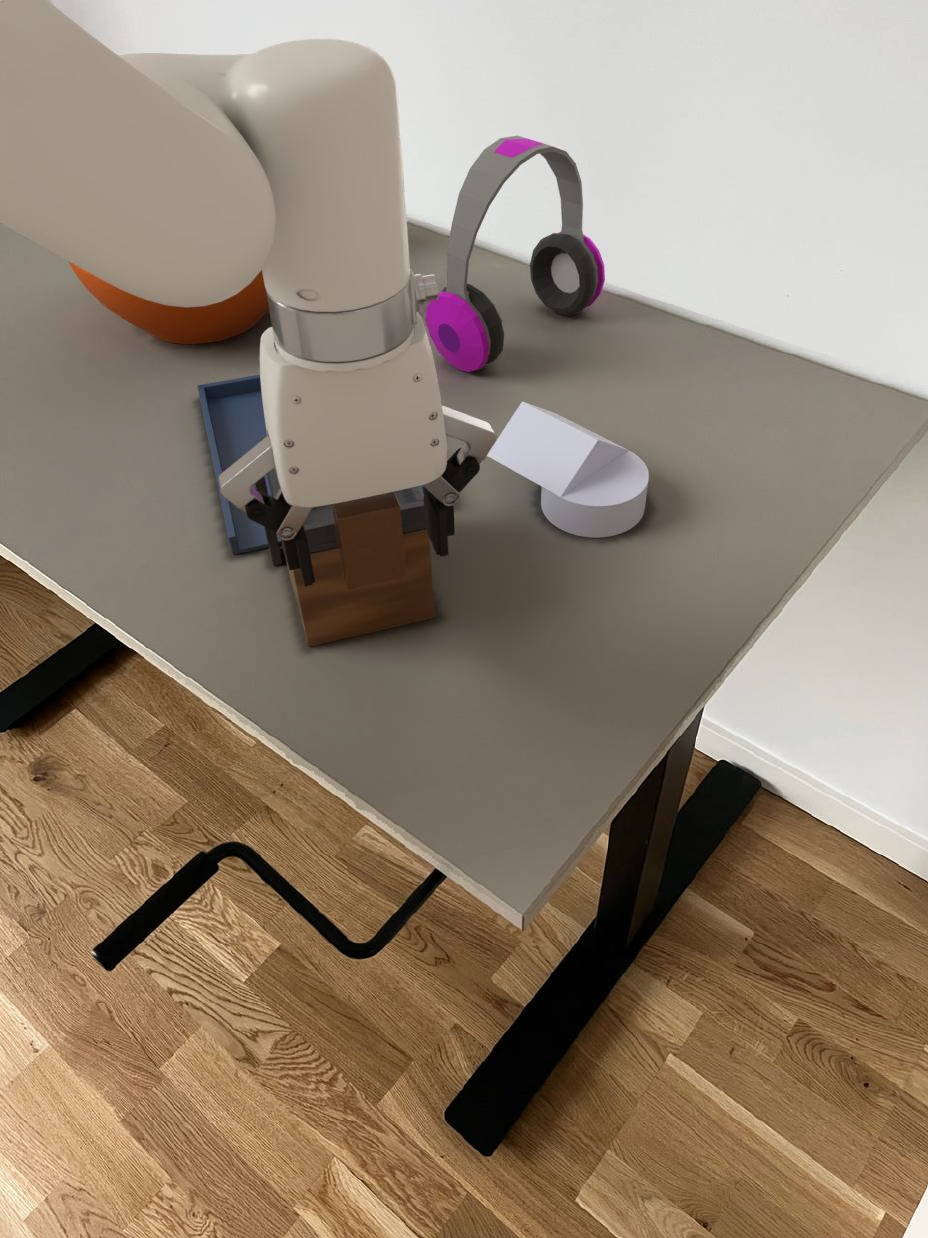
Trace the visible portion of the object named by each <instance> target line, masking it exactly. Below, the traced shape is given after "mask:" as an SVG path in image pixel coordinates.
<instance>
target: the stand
mask: <svg viewBox="0 0 928 1238" xmlns="http://www.w3.org/2000/svg"><path fill="white" fill-rule="evenodd" d="M267 476H268V474H267ZM268 481H269V486H270V491H271V495H272V497H273V498H274V494H273V491H272V487H271V483H270V480H269V476H268ZM255 488H256V489H257V490H260V491H262V492H264V493H265V494H267V495H268V491H267V487H266V482H265V477H263V478H261V479H260V480H259V481H258V482H256V483H255ZM264 529H265V533H266V538H267V542H268V552H269V555H270V559H271V563H272V566H275V567H276V566H279V565H283V559H282V554H281V549H280V545H279V544H278V539H277V534H276V532H275V531H273V530H271V529H269V528H267V527H265V526H264ZM403 541H404V552H405V563H406V574H407V576H406V577H404V578H399V579H395V580H390V581H386V582H381V583H377V584H372V585H368V586H363V587H359V588H354V589H350V590H348V588H347V585H346V582H345V579H344V576H343V573H342V569H341V562H340V556H339V549H338V547H335V548H331V549H326V550H321V551H317V552H312V553H310V556H311V562H312V567H313V573H314V578H315V582H314V583H312V584H313V585H311V586H306V587H305V586H304V582H303V579H302V575H301V572H300V568H299V569H294V570H289V567H288V563H287V559H286V555H285V550H284V545H283V540H282V539H281V544H282V545H281V548H282V552H283V556H284V559H285V563H286V567H287V571H288V575H289V578H290V583H291V586H292V590H293V593H294V594H293V595H294V597H295V601H296V605H297V609H298V612H299V616H300V621H301V623H302V629H303V631H304V636H305V640H306V643H307V646H308V648H310V647H314V646H318V645H323V644H327V643H331V642H335V641H340V640H345V639H348V638H349V639H350V638H353V637H357V636H362V635H366V634H371V633H374V632H379V631H383V630H387V629H392V628H396V627H400V626H404V625H409V624H413V623H417V622H422V621H426V620H430V619H435V617H436V614H435V613H436V612H435V598H434V596H435V595H434V584H433V569H432V568H433V567H432V552H431V551H432V549H431V541H430V538H429V536H428V534H427V531H426V528H425V529H420V530H415V531H410V532H406V533H403Z"/></svg>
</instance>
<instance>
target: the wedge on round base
mask: <svg viewBox="0 0 928 1238" xmlns="http://www.w3.org/2000/svg"><path fill="white" fill-rule="evenodd" d="M486 457H488V458H490V459H492V460H494V461H496V462H497V463H499V464H500V465H503V466H504V467H506V468H508V469H510V470H511V471H513V472H515V473H517V474H518V475H519V476H522V477H524V478H525V479H528V480H529V481H531V482H533V483H534V484H536V485H538V486H540V487H541V493H540V494H541V497H540V507H541V511H542V513H543V515H544V516H545V517H546V519H547V520H548V522H550V523H551V524H552V525H553V526H555V527H556V528H557V529H560V530H561V531H563V532H566V533H568V534H570V535H574V536H578V537H583V538H597V539H598V538H599V539H600V538H607V537H608V538H609V537H613V536H614V537H615V536H618V535H620V534H623V533H626V532H627V531H630V530H631V529H633V528H634V527H635V526H637V525H638V524H639V522H640V521H641V520H642V518H643V517H644V514H645V509H646V502H647V495H648V488H649V480H650V475H649V474H650V473H649V469H648V467H647V464H646V463H645V462H644V461H643V459H642V458H641V457H640V456H638V455H637V454H636V453H634V452H633V451H631V450H629V449H627V448H625V447H624V446H621V445H619V444H617V443H615V442H613V441H611V440H609V439H608V438H605V437H603V436H601V435H599V434H597V433H596V432H594V431H592V430H589V429H588V428H586V427H584V426H581V425H580V424H577V423H576V422H573V421H572V420H570V419H568V418H566V417H564V416H562V415H560V414H558V413H556V412H553V411H550V410H547V409H545V408H542V407H539V406H537V405H534V404H531V403H528V402H526V401H521V402H520V404H519V405H518V407H517V409H516V410H515V411H514V413H513V414H512V416H511V417H510V419H509V421H508V422H507V423H506V425H505V427H504V428H503V429H502V432H501V433H500V434H499V436H498V438H497V439H496V442H495V443H494V445H493V446H492V448H491V450H490V451H489V453H488V454H487V456H486Z"/></svg>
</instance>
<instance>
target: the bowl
mask: <svg viewBox="0 0 928 1238" xmlns="http://www.w3.org/2000/svg"><path fill="white" fill-rule="evenodd" d="M67 262H68V264H69V266H70V268H71V269H72V271H73V272H74V274H75V276H76V278H77V279H78V280H79V281H80V283H81V285H83V287H84V288H85V289H86V290H87V291H88V292H89V293H90V294H91V295H92V296H93V297H94V298H95V299H96V300H97V301H98V302H99V303H101V304H102V305H103V306H104V307H105V308H107V309H108V310H110V312H112V313H113V314H115V315H116V316H118V317H119V318H121V319H123V320H124V321H126V322H128V323H129V324H132V325H133V326H135V327H137V328H139V329H141V330H143V331H144V332H146V333H148V334H149V335H150V336H152V337H154V338H155V339H158V340H161V341H164V342H168V343H173V344H181V345H182V344H183V345H184V344H185V345H196V344H207V343H214V342H218V341H219V342H220V341H222V340H223V341H224V340H227V339H229V338H230V339H231V338H233V337H235V336H237V335H239V334H240V335H241V334H243V333H245V332H246V331H248V330H249V329H251V328H252V327H254V326H255V325H256V324H257V323H258V322H260V320H261V319H262V318H263V317H264V314H265V313H266V312H267V311H268V310H269V306H268V301H267V295H266V290H265V284H264V279H263V273H262V270H261V271H260V272H259V274H258V275H257V276H256V277H255V278H254V280H253V281H252V282H251V283H250V284H249V285H248V286H246V287H245V288H244V289H243V290H241V291H240V292H239V293H237V294H236V295H234V296H232V297H230V298H228V299H226V300H224V301H222V302H219V303H215V304H211V305H207V306H202V307H188V308H186V307H177V306H168V305H163V304H160V303H156V302H152V301H148V300H145V299H142V298H140V297H137V296H135V295H132V294H130V293H128V292H125V291H123V290H121V289H119V288H117V287H115V286H113V285H111V284H109V283H107V282H105V281H103V280H102V279H100V278H98V277H96V276H94V275H93V274H91V273H89V272H87V271H85V270H83V269H82V268H80V267H78V266H76V265H74V264H73V263H71V262H69V261H67Z"/></svg>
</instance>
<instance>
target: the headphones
mask: <svg viewBox="0 0 928 1238" xmlns="http://www.w3.org/2000/svg"><path fill="white" fill-rule="evenodd" d="M539 154H540V155H541V156H542V158H544V159H545V162H547V164H548V166H549V168H550V170H551V171H552V173H553V175H554V176H555V178H556V179H555V180H556V183H557V188H558V193H559V198H560V212H561V213H560V214H561V230H560V231H559V232H553V233H551V234H548V235H546V236H544V237H543V238H541V239H540V240H539V242H537V244H536V246H535V247H534V248H533V249H532V253H531V257H530V263H529V272H530V281H531V285H532V286H533V289H534V292H535V295H536V296H537V297H538V299H539V300H540V301H541V302H542V304H543V306H545V307H546V308H548V309H549V310H551V311H552V312H553V313H555V314H556V315H562V316H568V317H569V316H572V315H576V314H579V313H581V312H583V311H584V309H586V308H589V307H590V306H592V305H593V303H595V302H596V300H597V299H598V298H599V296H600V295H601V294H602V291H603V288H604V285H605V283H606V273H605V271H606V270H605V263H604V261H603V257H602V254H601V252H600V249H599V248H598V247H597V245H596V244H595V243H594V242H593V240H592V239H591V238H590V237H589V236H587V235H586V234H584V232H583V217H584V215H583V213H584V199H583V185H582V183H583V181H582V178H581V175H580V173H579V169H578V166H577V165H578V164H577V163H576V162H575V160H573V159H574V158H572V157H571V155H570V154H569V153H568V152H567V151H566V150H563V149H561V148H558V147H556V146H553V145H550V144H547V143H544V142H540V141H537V140H533V139H531V138H528V137H524V136H520V135H512V136H506V137H500V138H498V139H497V140H496V141H494V142H493V143H491V144H490V145H488V146H486V148H484V149H483V150H482V152H481V153H480V154H479V155H478V157H476V159H475V161H474V162H473V163H472V165H471V167H470V168H469V169H468V172H467V175H466V177H465V179H464V181H463V182H462V183H463V184H462V186H461V188H460V189H459V192H458V196H457V201H456V204H455V207H454V213H453V218H452V222H451V227H450V231H449V239H448V244H447V249H446V286H444V288H443V289H442V290H441V292H438V293H439V295H438V299H437V300H432V301H429V303H428V304H427V306H426V309H425V323H426V327H427V332H428V334H429V337H430V339H431V341H432V343H433V345H434V347H435V349H436V351H438V353H439V355H441V356H442V358H443V359H444V360H445V361H446V363H448V364H450V365H451V366H452V367H454V368H455V369H456V370H459V371H463V372H466V373H471V372H474V371H475V372H476V371H478V370H481V369H483V368H484V366H485V365H487V364H492V363H494V362H495V361H496V360H497V359H498V358H499V357H500V355H501V354H502V352H503V350H504V342H505V331H504V326H503V321H502V318H501V316H500V314H499V312H498V310H497V307H496V306H495V304H494V303H493V302H492V301H491V299H490V298H489V297H488V296H487V294H486V293H485V292H483V291H481V290H480V289H479V288H478V287H476V286H475V285H473V284H471V283H468V277H469V276H468V275H469V263H470V260H471V255H472V252H473V250H474V249H473V248H474V246H475V242H476V239H477V235H478V233H479V231H480V228H481V226H482V224H483V221H484V220H485V217H486V215H487V212H488V210H489V208H490V206H491V204H492V203H493V202H494V201H495V199H496V197H497V195H498V194H499V192H500V190H501V189H502V187H503V185H504V184H505V183H506V182H507V181H508V180H509V179H510V178H511V176H512V175H513V174H514V173H515V172H516V171H517V170H518V168H519V167H520V166H522V165H523V164H525V163H526V162H528V161H529V160H531V159H532V158H534V157H535V156H537V155H539Z"/></svg>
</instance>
